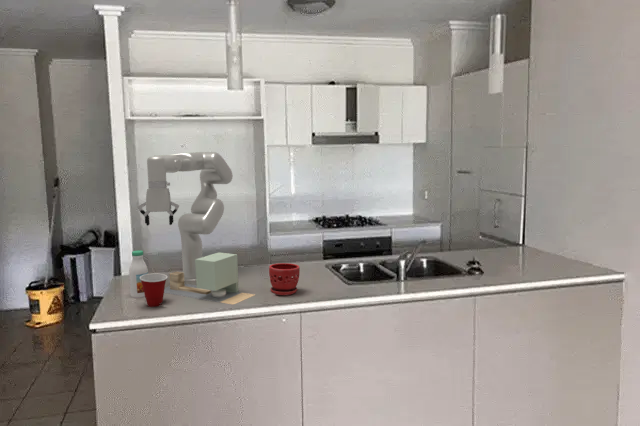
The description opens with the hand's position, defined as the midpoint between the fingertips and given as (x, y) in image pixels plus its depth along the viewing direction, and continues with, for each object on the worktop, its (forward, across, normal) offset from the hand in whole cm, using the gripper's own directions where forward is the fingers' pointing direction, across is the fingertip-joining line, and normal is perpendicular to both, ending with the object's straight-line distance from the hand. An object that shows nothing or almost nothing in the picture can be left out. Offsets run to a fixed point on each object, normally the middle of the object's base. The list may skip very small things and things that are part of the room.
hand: (159, 224), depth 234 cm
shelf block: (+30, -25, +13) cm, 41 cm away
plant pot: (+30, -53, +10) cm, 62 cm away
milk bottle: (+30, +8, +7) cm, 32 cm away
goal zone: (+30, -34, +19) cm, 49 cm away
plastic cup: (+30, 0, +19) cm, 36 cm away
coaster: (+29, -25, +13) cm, 41 cm away
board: (+30, -16, +6) cm, 34 cm away
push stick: (+29, -13, +4) cm, 32 cm away
